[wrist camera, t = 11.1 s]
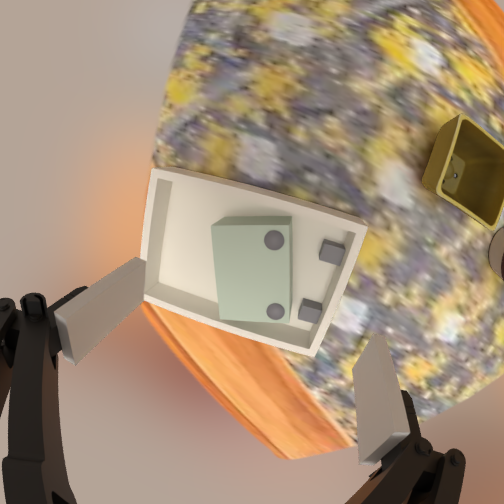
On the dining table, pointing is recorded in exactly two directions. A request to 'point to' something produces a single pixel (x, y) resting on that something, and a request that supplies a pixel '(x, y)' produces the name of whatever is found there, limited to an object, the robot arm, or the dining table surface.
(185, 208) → the tray
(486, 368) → the dining table surface
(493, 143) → the flower pot
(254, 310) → the dotted green block
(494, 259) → the coffee cup
